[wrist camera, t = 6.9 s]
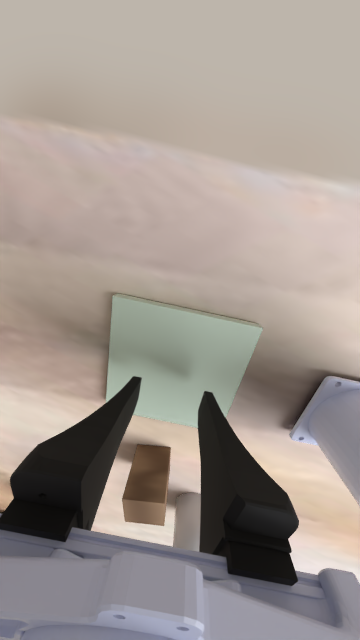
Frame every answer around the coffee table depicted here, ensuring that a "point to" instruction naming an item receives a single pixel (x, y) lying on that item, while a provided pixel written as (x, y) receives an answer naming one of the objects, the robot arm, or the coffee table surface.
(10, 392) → the coffee table surface
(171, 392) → the sage board
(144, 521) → the walnut block
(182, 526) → the grey stone cylinder
